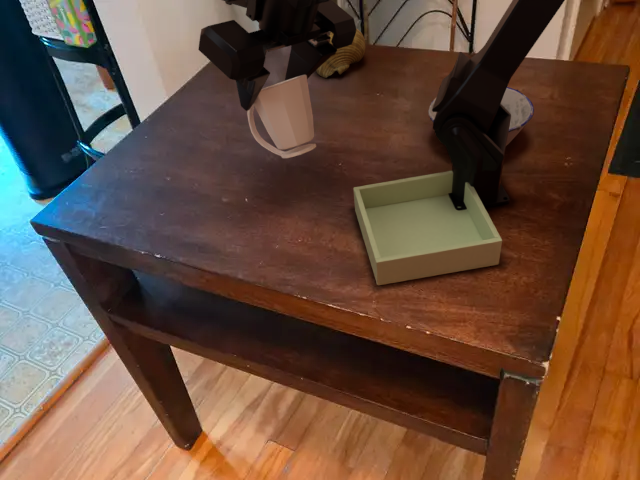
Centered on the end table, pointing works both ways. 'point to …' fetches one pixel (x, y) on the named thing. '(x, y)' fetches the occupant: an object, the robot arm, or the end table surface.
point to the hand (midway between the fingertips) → (266, 100)
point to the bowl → (514, 105)
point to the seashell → (344, 56)
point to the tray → (424, 228)
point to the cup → (285, 117)
